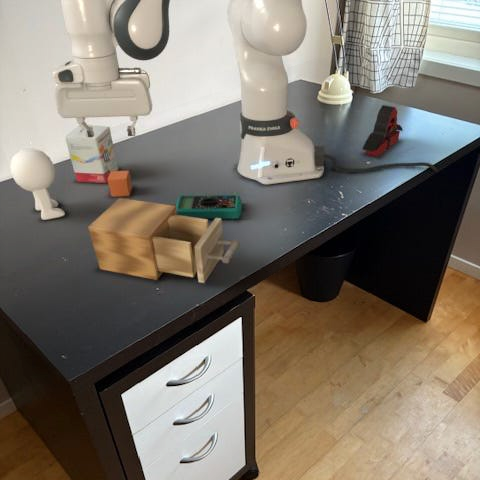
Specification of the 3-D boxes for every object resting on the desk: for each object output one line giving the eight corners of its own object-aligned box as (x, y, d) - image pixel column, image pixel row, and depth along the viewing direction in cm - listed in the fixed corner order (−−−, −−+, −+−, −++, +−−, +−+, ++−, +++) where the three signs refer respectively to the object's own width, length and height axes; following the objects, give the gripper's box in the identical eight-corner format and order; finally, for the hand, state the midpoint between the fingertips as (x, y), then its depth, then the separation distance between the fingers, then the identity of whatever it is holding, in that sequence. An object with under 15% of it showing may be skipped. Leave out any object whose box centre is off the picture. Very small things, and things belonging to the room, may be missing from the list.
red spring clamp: (389, 136, 138) (397, 95, 131) (401, 138, 137) (409, 97, 129) (360, 158, 128) (366, 115, 120) (372, 161, 126) (379, 118, 119)
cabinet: (182, 247, 99) (176, 205, 92) (157, 280, 91) (148, 237, 84) (128, 238, 102) (119, 197, 96) (99, 269, 94) (87, 227, 88)
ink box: (106, 183, 122) (95, 137, 114) (76, 181, 123) (63, 136, 115) (119, 169, 128) (109, 124, 120) (90, 167, 130) (78, 123, 122)
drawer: (244, 256, 94) (243, 221, 89) (226, 287, 87) (223, 251, 82) (171, 244, 98) (166, 210, 93) (148, 272, 91) (141, 238, 86)
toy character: (72, 214, 110) (53, 151, 100) (33, 226, 107) (9, 162, 97) (61, 199, 116) (41, 138, 106) (23, 210, 113) (-1, 148, 103)
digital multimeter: (241, 220, 106) (240, 208, 104) (175, 221, 107) (173, 209, 105) (242, 204, 112) (241, 192, 110) (179, 205, 112) (178, 193, 110)
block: (132, 187, 120) (129, 170, 117) (129, 196, 116) (126, 178, 113) (114, 188, 120) (110, 171, 117) (111, 196, 117) (107, 179, 113)
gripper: (149, 63, 101) (158, 129, 110) (53, 66, 101) (70, 132, 110) (145, 71, 96) (155, 139, 105) (44, 74, 96) (63, 142, 105)
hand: (111, 135), depth 108 cm, fingers open, 8 cm apart
